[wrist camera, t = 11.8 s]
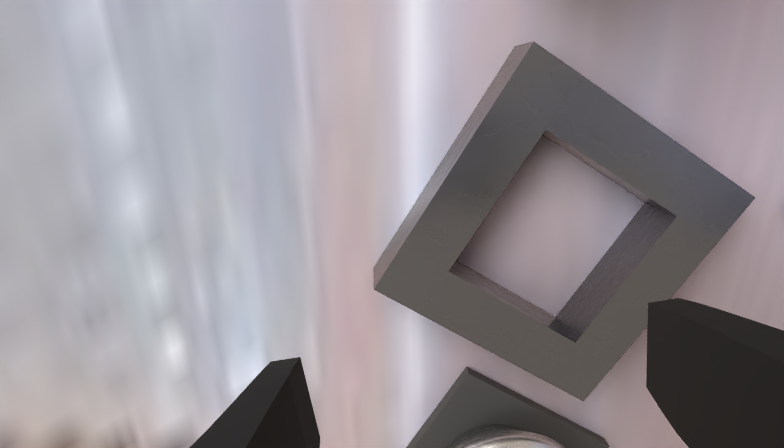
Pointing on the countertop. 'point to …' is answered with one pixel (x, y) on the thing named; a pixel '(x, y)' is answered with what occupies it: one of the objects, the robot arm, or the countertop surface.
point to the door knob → (502, 438)
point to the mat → (496, 415)
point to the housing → (614, 271)
